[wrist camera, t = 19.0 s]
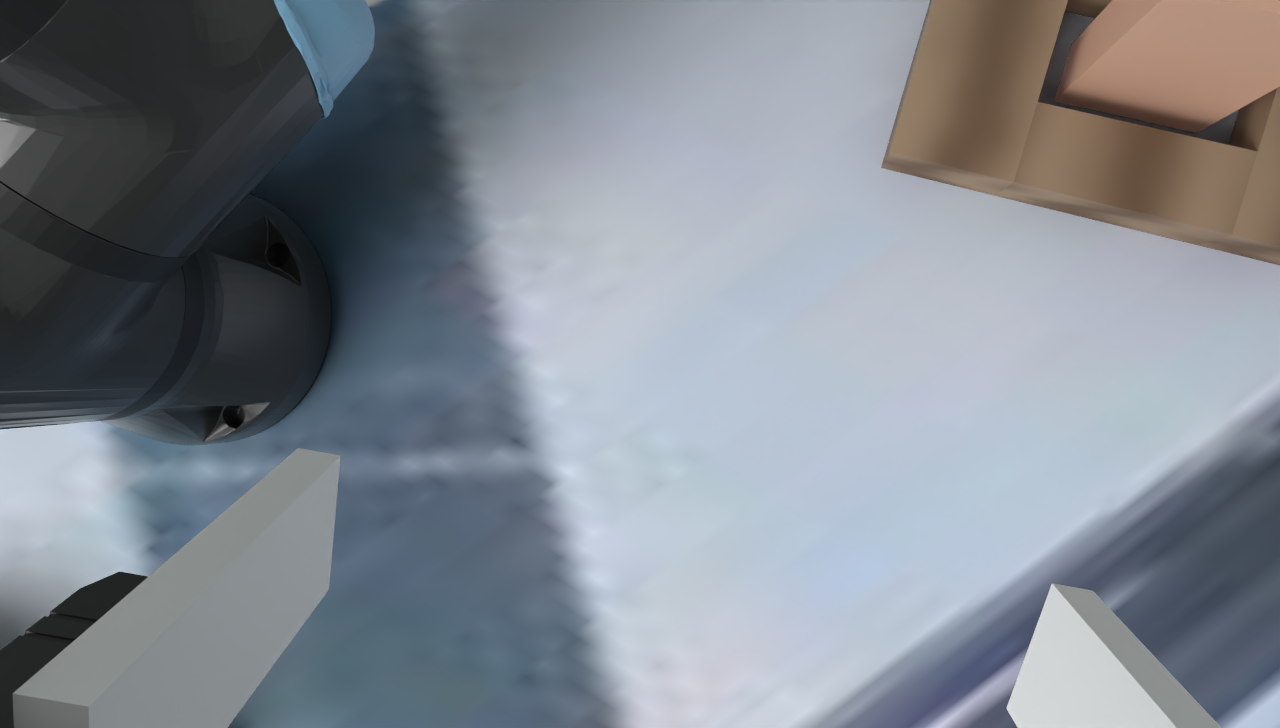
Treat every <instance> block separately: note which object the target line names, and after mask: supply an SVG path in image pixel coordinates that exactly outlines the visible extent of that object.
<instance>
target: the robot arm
mask: <svg viewBox="0 0 1280 728" xmlns="http://www.w3.org/2000/svg"><path fill="white" fill-rule="evenodd" d="M374 37H375V27H374V22H373V17H372V14H371V11H370V9H369V7H368V5H367V3H366V1H365V0H0V429H9V428H21V427H33V426H45V425H57V424H69V423H80V422H91V421H102V422H105V423H108V424H111V425H114V426H117V427H119V428H122V429H125V430H128V431H131V432H134V433H137V434H140V435H143V436H146V437H148V438H151V439H154V440H158V441H161V442H166V443H171V444H180V445H206V444H214V443H222V442H230V441H235V440H240V439H243V438H247V437H250V436H252V435H255V434H257V433H259V432H261V431H263V430H265V429H267V428H269V427H270V426H272V425H274V424H275V423H276V422H278V421H279V420H281V419H282V418H283V417H284V416H286V415H287V414H288V413H289V412H290V411H291V410H292V409H293V408H294V407H295V406H296V405H297V404H298V403H299V402H300V400H301V399H302V398H303V397H304V395H305V394H306V392H307V391H308V390H309V388H310V387H311V385H312V383H313V381H314V380H315V378H316V376H317V374H318V372H319V370H320V367H321V365H322V362H323V359H324V356H325V353H326V350H327V345H328V341H329V335H330V327H331V300H330V292H329V287H328V282H327V278H326V275H325V272H324V269H323V266H322V263H321V261H320V259H319V256H318V255H317V253H316V251H315V249H314V247H313V245H312V244H311V242H310V241H309V239H308V238H307V236H306V235H305V234H304V232H303V231H302V230H301V229H300V228H299V226H298V225H297V224H296V223H295V222H294V221H293V220H292V219H291V218H289V217H288V216H287V215H286V214H285V213H283V212H282V211H281V210H279V209H278V208H276V207H275V206H273V205H272V204H270V203H268V202H266V201H264V200H262V199H260V198H257V197H255V196H252V195H249V194H250V193H251V192H252V191H253V190H254V189H255V187H256V186H257V185H258V184H259V183H260V182H261V181H262V180H263V179H264V178H265V177H266V176H267V175H268V174H269V172H270V171H271V170H272V169H273V168H274V167H275V166H276V165H277V164H278V163H279V162H280V161H281V160H282V159H283V157H284V156H285V155H286V154H287V153H288V152H289V151H290V150H291V149H292V148H293V147H294V146H295V145H296V144H297V142H298V141H299V140H300V139H301V138H302V137H303V136H304V135H305V134H306V133H307V132H308V131H309V130H310V128H311V127H312V126H313V125H314V124H315V123H316V122H317V121H318V120H319V119H325V118H327V117H328V116H329V115H330V111H331V110H332V109H333V101H334V100H335V99H336V98H337V97H338V95H339V94H340V93H341V92H342V91H343V89H344V88H345V87H346V86H347V85H348V83H349V82H350V81H351V80H352V79H353V77H354V76H355V75H356V74H357V73H358V71H359V70H360V69H361V68H362V67H363V65H364V64H365V63H366V62H367V61H368V59H369V57H370V55H371V53H372V51H373V47H374ZM339 467H340V456H339V455H333V454H328V453H322V452H317V451H311V450H306V449H300V448H298V449H296V450H295V451H294V452H293V453H292V454H291V455H289V456H288V457H287V458H286V459H285V460H284V461H282V462H281V463H280V464H279V465H278V466H277V467H276V468H274V469H273V470H272V471H271V472H270V473H269V474H267V475H266V476H265V477H264V478H263V479H262V480H260V481H259V482H258V483H257V484H256V485H255V486H253V487H252V488H251V489H250V490H249V491H248V492H246V493H245V494H244V495H243V496H242V497H241V498H239V499H238V500H237V501H236V502H235V503H234V504H232V505H231V506H230V507H229V508H228V509H227V510H226V511H224V512H223V513H222V514H221V515H220V516H219V517H217V518H216V519H215V520H214V521H213V522H212V523H210V524H209V525H208V526H207V527H206V528H205V529H203V530H202V531H201V532H200V533H199V534H198V535H196V536H195V537H194V538H193V539H192V540H191V541H189V542H188V543H187V544H186V545H185V546H184V547H182V548H181V549H180V550H179V551H178V552H177V553H175V554H174V555H173V556H172V557H171V558H170V559H169V560H167V561H166V562H165V563H164V564H163V565H162V566H160V567H159V568H158V569H157V570H156V571H155V572H153V573H152V574H151V575H150V576H149V577H147V576H141V575H135V574H130V573H124V572H118V573H115V574H113V575H111V576H108V577H106V578H104V579H101V580H99V581H97V582H94V583H92V584H90V585H87V586H85V587H83V588H81V589H79V590H78V591H76V592H75V593H74V594H73V595H71V596H70V597H69V598H67V599H66V600H65V601H64V602H62V603H61V604H60V605H58V606H57V607H56V608H55V609H53V610H52V611H51V612H50V615H49V616H48V617H46V616H44V617H43V618H42V619H40V620H39V621H38V622H37V623H35V624H34V625H33V626H31V627H30V628H29V629H28V630H26V633H25V635H24V636H19V637H17V638H16V639H15V640H14V641H12V642H11V643H10V644H8V645H7V646H6V647H5V648H3V649H2V650H1V651H0V728H227V727H228V726H229V725H230V723H231V722H232V721H233V719H234V718H235V717H236V715H237V714H238V712H239V711H240V710H241V708H242V707H243V706H244V704H245V703H246V702H247V700H248V699H249V698H250V696H251V695H252V693H253V692H254V691H255V689H256V688H257V687H258V685H259V684H260V683H261V681H262V680H263V678H264V677H265V676H266V674H267V673H268V672H269V670H270V669H271V668H272V666H273V665H274V663H275V662H276V661H277V659H278V658H279V657H280V655H281V654H282V653H283V651H284V650H285V649H286V647H287V646H288V644H289V643H290V642H291V640H292V639H293V638H294V636H295V635H296V634H297V632H298V631H299V629H300V628H301V627H302V625H303V624H304V623H305V621H306V620H307V619H308V617H309V616H310V614H311V613H312V612H313V610H314V609H315V608H316V606H317V605H318V604H319V602H320V601H321V599H322V598H323V597H324V595H325V594H326V593H327V591H328V590H329V582H330V570H331V559H332V547H333V536H334V524H335V513H336V501H337V490H338V478H339ZM1006 709H1007V710H1008V712H1009V714H1010V715H1011V717H1012V719H1013V720H1014V722H1015V724H1016V725H1017V727H1018V728H1221V727H1220V726H1219V725H1218V724H1217V723H1216V721H1215V720H1214V719H1213V718H1212V717H1211V716H1210V715H1209V714H1208V713H1207V712H1206V711H1205V710H1204V709H1203V708H1202V707H1201V706H1200V704H1199V703H1198V702H1197V701H1196V700H1195V699H1194V698H1193V697H1192V696H1191V695H1190V694H1189V693H1188V692H1187V691H1186V690H1185V688H1184V687H1183V686H1182V685H1181V684H1180V683H1179V682H1178V681H1177V680H1176V679H1175V678H1174V677H1173V676H1172V675H1171V674H1170V673H1169V671H1168V670H1167V669H1166V668H1165V667H1164V666H1163V665H1162V664H1161V663H1160V662H1159V661H1158V660H1157V659H1156V658H1155V657H1154V655H1153V654H1152V653H1151V652H1150V651H1149V650H1148V649H1147V648H1146V647H1145V646H1144V645H1143V644H1142V643H1141V642H1140V641H1139V640H1138V638H1137V637H1136V636H1135V635H1134V634H1133V633H1132V632H1131V631H1130V630H1129V629H1128V628H1127V627H1126V626H1125V625H1124V624H1123V622H1122V621H1121V620H1120V619H1119V618H1118V617H1117V616H1116V615H1115V614H1114V613H1113V612H1112V611H1111V610H1110V609H1109V608H1108V607H1107V605H1106V604H1105V603H1104V602H1103V601H1102V600H1101V599H1100V598H1099V597H1098V596H1097V595H1096V594H1095V593H1094V592H1093V591H1091V590H1086V589H1080V588H1074V587H1069V586H1063V585H1058V584H1052V585H1051V588H1050V591H1049V593H1048V596H1047V599H1046V602H1045V604H1044V607H1043V610H1042V612H1041V615H1040V618H1039V621H1038V623H1037V626H1036V629H1035V632H1034V634H1033V637H1032V640H1031V643H1030V645H1029V648H1028V651H1027V654H1026V656H1025V659H1024V662H1023V665H1022V667H1021V670H1020V673H1019V676H1018V678H1017V681H1016V684H1015V686H1014V689H1013V692H1012V695H1011V697H1010V700H1009V703H1008V706H1007V708H1006Z"/></svg>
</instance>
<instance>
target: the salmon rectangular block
mask: <svg viewBox="0 0 1280 728" xmlns="http://www.w3.org/2000/svg"><path fill="white" fill-rule="evenodd" d="M1278 87H1280V0H1112V1H1111V2H1110V3H1109V4H1108V5H1107V7H1106V8H1105V9H1104V10H1103V11H1102V12H1101V13H1100V14H1099V15H1098V16H1097V17H1096V18H1095V19H1094V20H1093V22H1092V23H1091V24H1090V25H1089V26H1088V27H1087V28H1086V29H1085V30H1084V31H1083V32H1082V33H1081V34H1080V35H1079V37H1078V38H1077V39H1076V40H1075V41H1074V42H1073V43H1072V44H1071V47H1070V50H1069V53H1068V57H1067V60H1066V63H1065V67H1064V70H1063V73H1062V77H1061V80H1060V83H1059V87H1058V90H1057V93H1056V97H1055V100H1054V101H1057V102H1061V103H1066V104H1070V105H1075V106H1079V107H1084V108H1088V109H1093V110H1097V111H1101V112H1106V113H1110V114H1115V115H1119V116H1124V117H1128V118H1133V119H1137V120H1141V121H1146V122H1150V123H1155V124H1159V125H1164V126H1168V127H1173V128H1177V129H1181V130H1186V131H1190V132H1195V133H1198V132H1199V131H1201V130H1203V129H1205V128H1206V127H1208V126H1210V125H1212V124H1214V123H1215V122H1217V121H1219V120H1221V119H1223V118H1224V117H1226V116H1228V115H1230V114H1231V113H1233V112H1235V111H1237V110H1239V109H1240V108H1242V107H1244V106H1246V105H1248V104H1249V103H1251V102H1253V101H1255V100H1256V99H1258V98H1260V97H1262V96H1264V95H1265V94H1267V93H1269V92H1271V91H1273V90H1274V89H1276V88H1278Z"/></svg>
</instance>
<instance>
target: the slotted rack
mask: <svg viewBox="0 0 1280 728" xmlns="http://www.w3.org/2000/svg"><path fill="white" fill-rule="evenodd" d="M1111 1H1112V0H930V4H929V7H928V11H927V14H926V17H925V21H924V24H923V28H922V31H921V34H920V38H919V41H918V45H917V48H916V51H915V55H914V58H913V62H912V65H911V68H910V72H909V75H908V78H907V82H906V85H905V89H904V92H903V95H902V99H901V102H900V106H899V109H898V112H897V116H896V119H895V123H894V126H893V129H892V133H891V136H890V140H889V143H888V146H887V150H886V153H885V157H884V160H883V163H882V167H881V168H885V169H889V170H893V171H897V172H901V173H905V174H910V175H914V176H918V177H922V178H926V179H930V180H934V181H938V182H942V183H946V184H950V185H954V186H959V187H963V188H967V189H971V190H975V191H979V192H983V193H987V194H991V195H995V196H999V197H1004V198H1008V199H1012V200H1016V201H1020V202H1024V203H1028V204H1032V205H1036V206H1040V207H1044V208H1049V209H1053V210H1057V211H1061V212H1065V213H1069V214H1073V215H1077V216H1081V217H1085V218H1089V219H1093V220H1098V221H1102V222H1106V223H1110V224H1114V225H1118V226H1122V227H1126V228H1130V229H1134V230H1138V231H1143V232H1147V233H1151V234H1155V235H1159V236H1163V237H1167V238H1171V239H1175V240H1179V241H1183V242H1188V243H1192V244H1196V245H1200V246H1204V247H1208V248H1212V249H1216V250H1220V251H1224V252H1228V253H1233V254H1237V255H1241V256H1245V257H1249V258H1253V259H1257V260H1261V261H1265V262H1269V263H1273V264H1277V265H1280V87H1278V88H1276V89H1274V90H1273V91H1271V92H1269V93H1267V94H1265V95H1264V96H1262V97H1260V98H1258V99H1256V100H1255V101H1253V102H1251V103H1249V104H1248V105H1246V106H1244V107H1242V108H1240V109H1239V113H1238V116H1237V119H1236V122H1235V126H1234V129H1233V132H1232V135H1231V139H1230V142H1229V145H1227V144H1222V143H1218V142H1213V141H1209V140H1205V139H1200V138H1196V137H1191V136H1187V135H1183V134H1178V133H1174V132H1169V131H1165V130H1160V129H1156V128H1152V127H1147V126H1143V125H1138V124H1134V123H1130V122H1125V121H1121V120H1116V119H1112V118H1107V117H1103V116H1099V115H1094V114H1090V113H1085V112H1081V111H1076V110H1072V109H1068V108H1063V107H1059V106H1054V105H1050V104H1046V103H1041V102H1038V99H1039V96H1040V92H1041V89H1042V86H1043V82H1044V79H1045V76H1046V72H1047V69H1048V65H1049V62H1050V59H1051V55H1052V52H1053V49H1054V45H1055V42H1056V39H1057V35H1058V32H1059V29H1060V25H1061V22H1062V19H1063V15H1064V12H1065V11H1066V12H1071V13H1076V14H1080V15H1085V16H1090V17H1095V18H1096V17H1097V16H1098V15H1099V14H1100V13H1101V12H1102V11H1103V10H1104V9H1105V8H1106V7H1107V5H1108V4H1109V3H1110V2H1111Z"/></svg>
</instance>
